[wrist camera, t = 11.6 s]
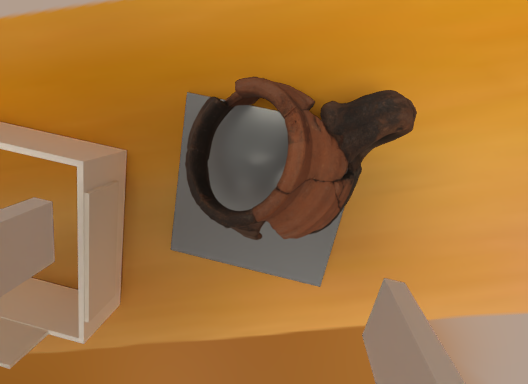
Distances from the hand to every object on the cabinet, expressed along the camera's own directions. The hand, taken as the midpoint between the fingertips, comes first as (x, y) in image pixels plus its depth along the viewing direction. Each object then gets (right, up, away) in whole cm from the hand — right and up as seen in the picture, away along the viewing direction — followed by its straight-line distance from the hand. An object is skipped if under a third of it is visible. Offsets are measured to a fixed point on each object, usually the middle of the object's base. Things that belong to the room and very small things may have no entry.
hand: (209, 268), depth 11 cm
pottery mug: (+6, +5, +9) cm, 12 cm away
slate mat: (+2, +3, +9) cm, 10 cm away
